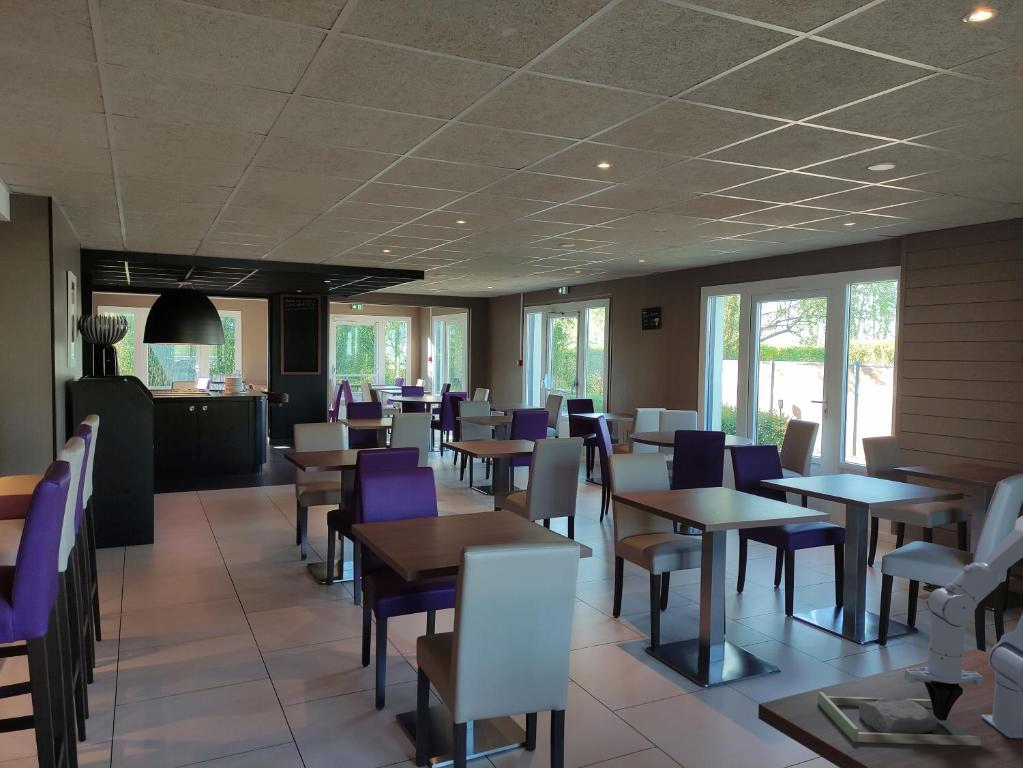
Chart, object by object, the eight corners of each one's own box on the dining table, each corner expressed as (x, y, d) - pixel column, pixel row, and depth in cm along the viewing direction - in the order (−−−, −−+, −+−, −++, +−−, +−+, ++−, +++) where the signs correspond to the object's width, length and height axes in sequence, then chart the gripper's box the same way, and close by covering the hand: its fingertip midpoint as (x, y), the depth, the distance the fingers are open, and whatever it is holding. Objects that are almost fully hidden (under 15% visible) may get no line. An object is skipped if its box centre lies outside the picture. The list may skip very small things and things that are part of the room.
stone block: (852, 723, 144) (891, 739, 135) (851, 698, 145) (889, 712, 135) (901, 718, 147) (941, 734, 138) (899, 694, 148) (939, 708, 139)
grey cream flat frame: (932, 707, 149) (933, 699, 149) (980, 745, 135) (981, 737, 135) (821, 703, 148) (822, 696, 148) (857, 741, 134) (858, 733, 134)
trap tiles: (934, 709, 148) (934, 708, 148) (975, 742, 136) (975, 741, 136) (903, 708, 148) (903, 707, 148) (941, 741, 136) (941, 740, 136)
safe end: (821, 703, 148) (822, 691, 148) (857, 741, 134) (858, 729, 134) (817, 703, 148) (818, 691, 148) (853, 741, 134) (854, 728, 134)
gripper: (967, 643, 146) (962, 708, 146) (898, 641, 145) (892, 706, 146) (992, 659, 138) (986, 727, 139) (919, 656, 138) (913, 724, 139)
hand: (939, 717), depth 142 cm, fingers closed
